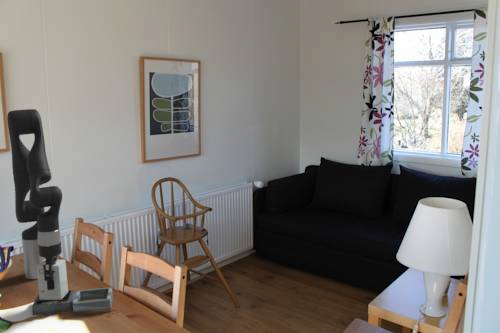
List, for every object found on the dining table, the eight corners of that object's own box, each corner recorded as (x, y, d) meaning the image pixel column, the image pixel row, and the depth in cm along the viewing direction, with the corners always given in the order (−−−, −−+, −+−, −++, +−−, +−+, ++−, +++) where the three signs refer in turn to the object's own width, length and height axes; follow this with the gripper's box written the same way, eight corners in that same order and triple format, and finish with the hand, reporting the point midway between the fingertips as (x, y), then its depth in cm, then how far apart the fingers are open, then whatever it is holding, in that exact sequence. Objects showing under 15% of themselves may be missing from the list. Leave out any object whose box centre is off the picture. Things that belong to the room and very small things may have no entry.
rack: (77, 300, 168) (76, 290, 167) (113, 296, 171) (112, 286, 170) (72, 315, 156) (71, 304, 156) (111, 311, 159) (110, 300, 158)
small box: (68, 292, 166) (66, 259, 164) (61, 300, 160) (58, 265, 158) (46, 292, 166) (44, 259, 164) (38, 300, 160) (35, 265, 158)
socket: (39, 301, 167) (39, 293, 167) (75, 298, 170) (74, 289, 169) (32, 315, 156) (31, 306, 156) (70, 311, 159) (69, 302, 159)
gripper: (42, 236, 165) (46, 278, 168) (33, 249, 152) (37, 294, 154) (64, 234, 167) (67, 276, 170) (57, 247, 153) (60, 292, 156)
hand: (53, 284), depth 162 cm, fingers closed on small box, 7 cm apart
